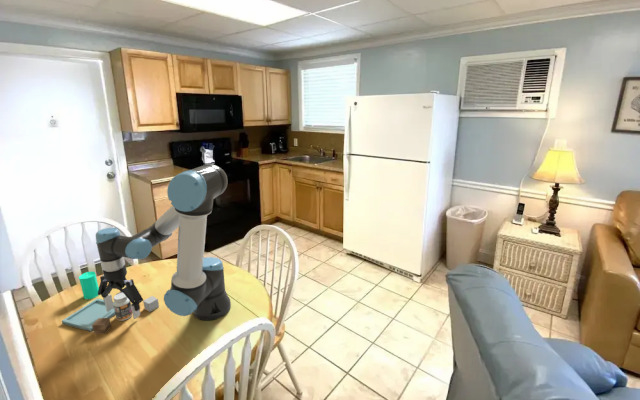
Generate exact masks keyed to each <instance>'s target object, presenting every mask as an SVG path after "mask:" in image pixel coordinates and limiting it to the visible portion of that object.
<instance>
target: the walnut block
mask: <svg viewBox="0 0 640 400" xmlns="http://www.w3.org/2000/svg"><path fill="white" fill-rule="evenodd" d="M92 327H93V331H92V332H93V334H94V335H101V334H102V335H103V334H104V335H105V334H106V333H107V332H108V331H109V330H110V329H111V327H112V324H111V320H110V319H109V318H98V319H97V320H96V322H95V323H94V324H93V325H92Z"/></svg>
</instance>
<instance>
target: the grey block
mask: <svg viewBox="0 0 640 400" xmlns="http://www.w3.org/2000/svg"><path fill="white" fill-rule="evenodd" d="M142 302H143V307H144V310H147V311H148V312H150V313H151V312H153V311H154V310H157V309H158V308H159V307H160V304H159V299H158V298H157V297H155V296H153V295H151V296H149V297H148V298H145V299H143V301H142Z"/></svg>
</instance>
